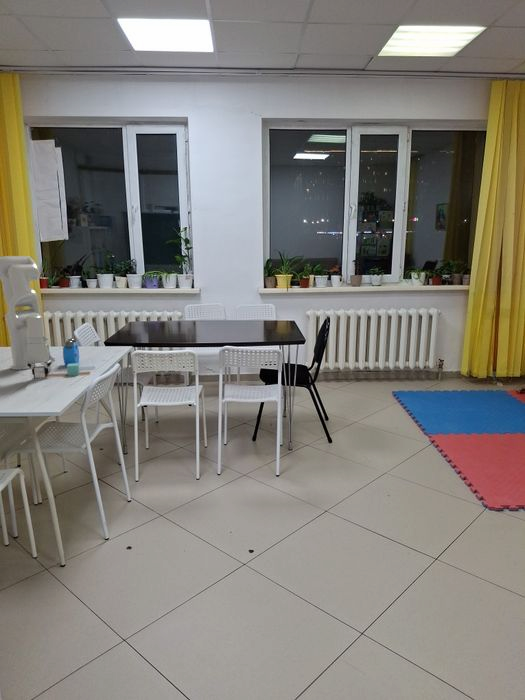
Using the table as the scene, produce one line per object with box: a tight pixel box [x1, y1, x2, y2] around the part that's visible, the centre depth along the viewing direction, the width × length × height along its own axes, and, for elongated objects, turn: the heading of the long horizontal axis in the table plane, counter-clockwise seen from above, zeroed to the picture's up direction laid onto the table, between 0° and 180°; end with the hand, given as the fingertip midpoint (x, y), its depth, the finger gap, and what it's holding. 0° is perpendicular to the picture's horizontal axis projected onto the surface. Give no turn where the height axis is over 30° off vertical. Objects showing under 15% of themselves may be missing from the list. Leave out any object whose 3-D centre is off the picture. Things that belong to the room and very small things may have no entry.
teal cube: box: [66, 363, 81, 377], centre depth 237 cm, size 5×5×5 cm
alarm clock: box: [62, 338, 80, 367], centre depth 257 cm, size 13×6×15 cm, turn 12°
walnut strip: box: [34, 364, 92, 380], centre depth 236 cm, size 7×26×6 cm, turn 104°
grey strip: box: [40, 360, 96, 374], centre depth 246 cm, size 7×26×6 cm, turn 104°
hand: (40, 375), depth 234 cm, fingers closed on walnut strip, 4 cm apart
